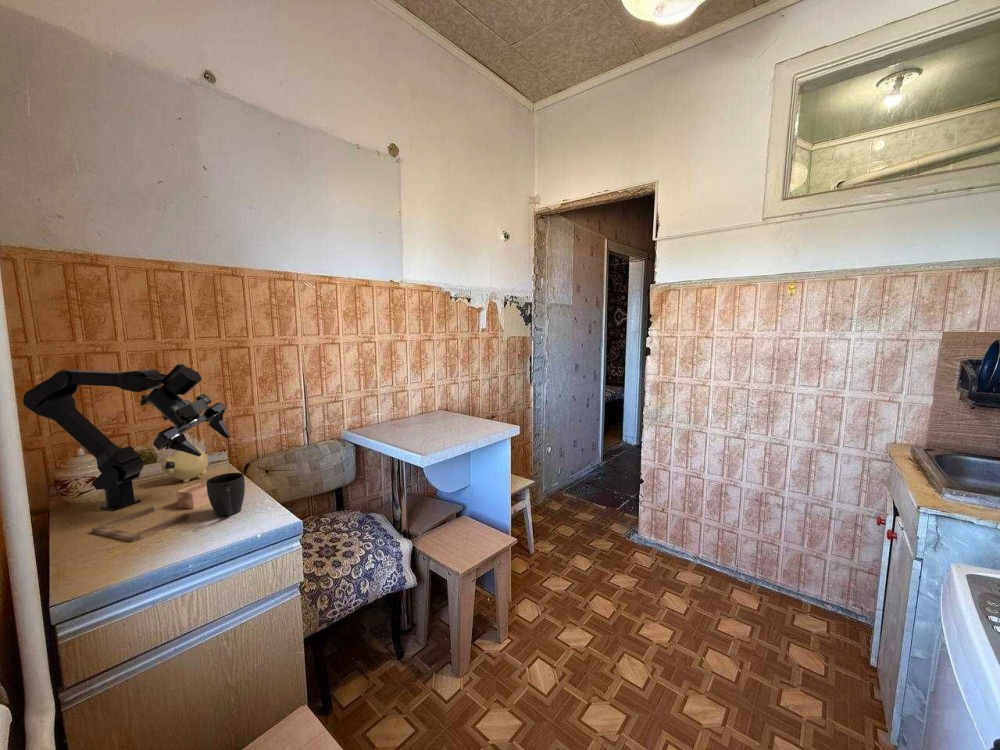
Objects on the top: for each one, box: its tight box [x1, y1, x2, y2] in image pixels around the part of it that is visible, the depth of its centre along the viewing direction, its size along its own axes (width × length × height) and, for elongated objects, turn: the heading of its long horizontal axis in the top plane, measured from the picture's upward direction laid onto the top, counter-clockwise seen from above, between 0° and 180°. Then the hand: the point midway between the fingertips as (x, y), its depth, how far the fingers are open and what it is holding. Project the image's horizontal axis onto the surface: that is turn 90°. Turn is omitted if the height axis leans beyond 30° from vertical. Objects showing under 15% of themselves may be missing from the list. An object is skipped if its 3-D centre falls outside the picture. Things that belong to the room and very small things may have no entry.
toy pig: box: [160, 446, 209, 483], centre depth 131 cm, size 10×12×11 cm
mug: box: [205, 472, 246, 518], centre depth 105 cm, size 8×12×10 cm
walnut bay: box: [91, 506, 191, 543], centre depth 101 cm, size 15×12×1 cm
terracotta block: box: [176, 482, 211, 510], centre depth 113 cm, size 6×6×4 cm
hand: (215, 446), depth 114 cm, fingers open, 9 cm apart
